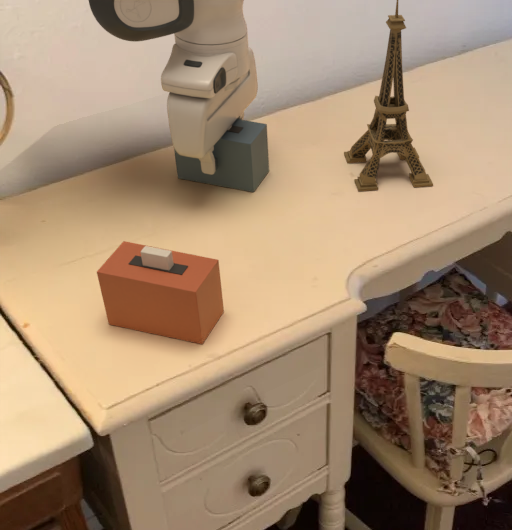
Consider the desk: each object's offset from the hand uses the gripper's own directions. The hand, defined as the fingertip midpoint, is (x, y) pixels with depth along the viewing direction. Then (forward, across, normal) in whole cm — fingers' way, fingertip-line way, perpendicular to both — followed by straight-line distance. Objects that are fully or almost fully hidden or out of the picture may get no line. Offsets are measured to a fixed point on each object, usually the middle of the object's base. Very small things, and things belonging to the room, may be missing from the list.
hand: (222, 157), depth 113 cm
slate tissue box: (+3, 0, 0) cm, 3 cm away
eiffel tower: (+3, -9, +21) cm, 23 cm away
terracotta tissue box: (+3, +31, +6) cm, 32 cm away
